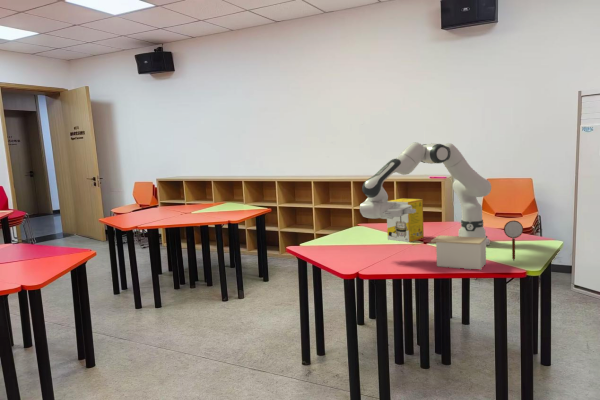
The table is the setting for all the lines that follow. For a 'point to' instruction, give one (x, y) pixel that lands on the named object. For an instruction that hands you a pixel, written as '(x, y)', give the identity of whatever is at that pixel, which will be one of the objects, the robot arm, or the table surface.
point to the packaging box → (407, 222)
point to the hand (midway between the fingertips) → (415, 211)
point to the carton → (461, 255)
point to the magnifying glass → (513, 233)
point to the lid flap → (458, 239)
